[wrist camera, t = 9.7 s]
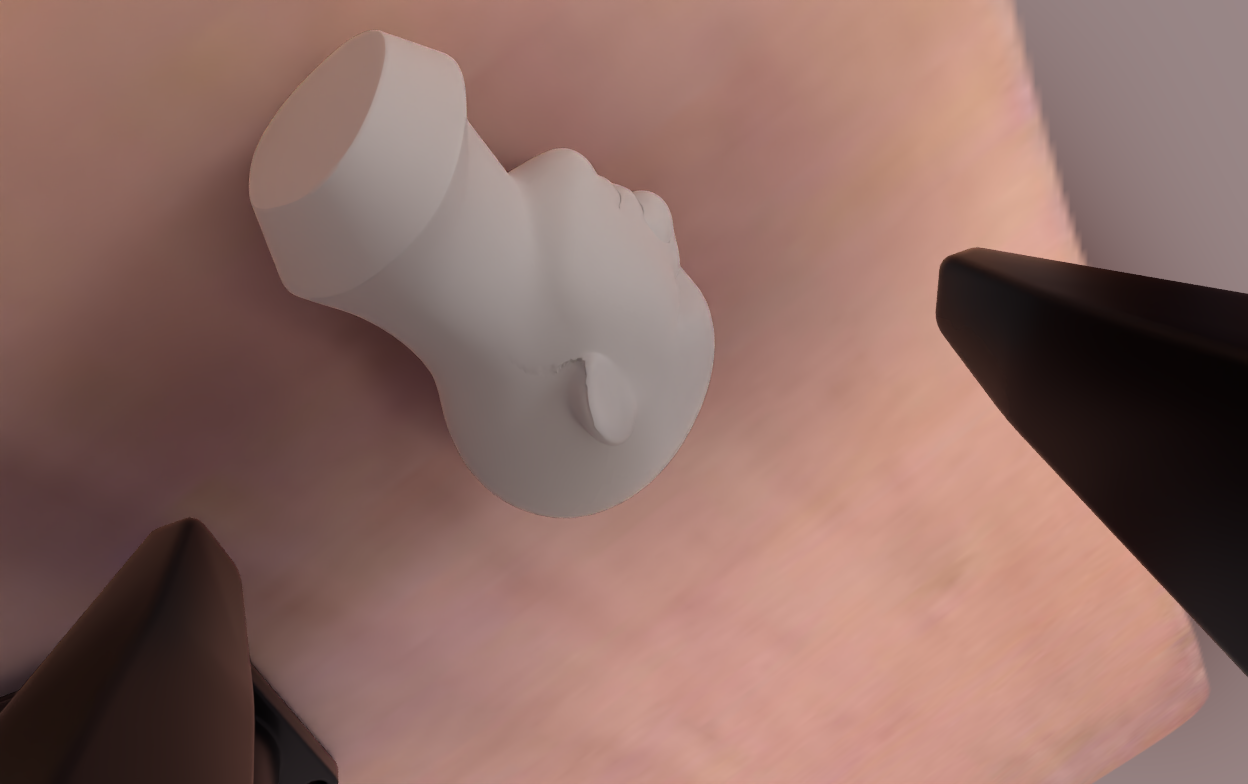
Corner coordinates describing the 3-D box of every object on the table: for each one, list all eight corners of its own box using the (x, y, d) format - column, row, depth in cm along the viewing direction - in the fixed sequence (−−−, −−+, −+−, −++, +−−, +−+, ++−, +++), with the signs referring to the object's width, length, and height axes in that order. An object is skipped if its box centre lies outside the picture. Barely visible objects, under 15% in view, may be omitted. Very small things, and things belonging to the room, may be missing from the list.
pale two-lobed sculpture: (670, 313, 16) (492, 487, 15) (443, -69, 11) (153, 160, 10) (825, 390, 13) (611, 615, 12) (606, -96, 8) (206, 234, 7)
